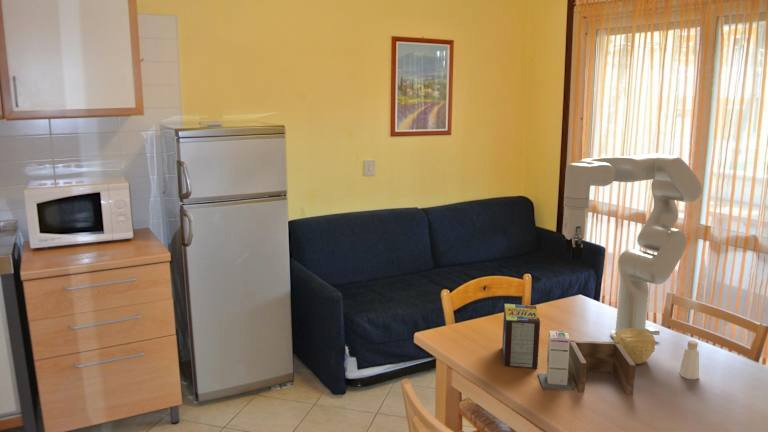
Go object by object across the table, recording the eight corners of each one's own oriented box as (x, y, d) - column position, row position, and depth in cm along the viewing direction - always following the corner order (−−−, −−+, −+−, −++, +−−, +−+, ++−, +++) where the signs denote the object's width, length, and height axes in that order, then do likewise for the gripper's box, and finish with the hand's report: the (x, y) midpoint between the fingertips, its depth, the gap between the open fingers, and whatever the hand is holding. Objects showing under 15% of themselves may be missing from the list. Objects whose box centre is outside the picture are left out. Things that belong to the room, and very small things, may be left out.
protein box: (533, 349, 206) (536, 305, 203) (537, 369, 191) (540, 321, 188) (501, 347, 208) (504, 303, 205) (503, 366, 193) (505, 319, 190)
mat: (568, 376, 186) (568, 374, 186) (574, 390, 177) (574, 388, 177) (537, 375, 187) (537, 373, 187) (542, 388, 178) (542, 387, 178)
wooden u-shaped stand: (616, 369, 191) (618, 342, 190) (632, 394, 175) (635, 365, 173) (567, 367, 193) (569, 340, 191) (578, 392, 176) (581, 362, 175)
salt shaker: (687, 380, 185) (691, 345, 182) (675, 372, 190) (679, 338, 188) (703, 379, 186) (707, 344, 184) (690, 371, 191) (694, 337, 189)
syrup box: (567, 385, 179) (571, 338, 176) (546, 384, 180) (549, 337, 177) (565, 377, 184) (569, 331, 182) (545, 375, 185) (548, 329, 183)
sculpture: (624, 369, 192) (627, 336, 190) (605, 353, 204) (608, 322, 202) (658, 367, 194) (662, 334, 192) (637, 351, 205) (640, 320, 203)
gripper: (558, 197, 203) (555, 248, 206) (570, 207, 186) (566, 262, 189) (581, 198, 202) (578, 248, 206) (595, 207, 185) (591, 262, 189)
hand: (572, 255), depth 198 cm, fingers open, 9 cm apart
